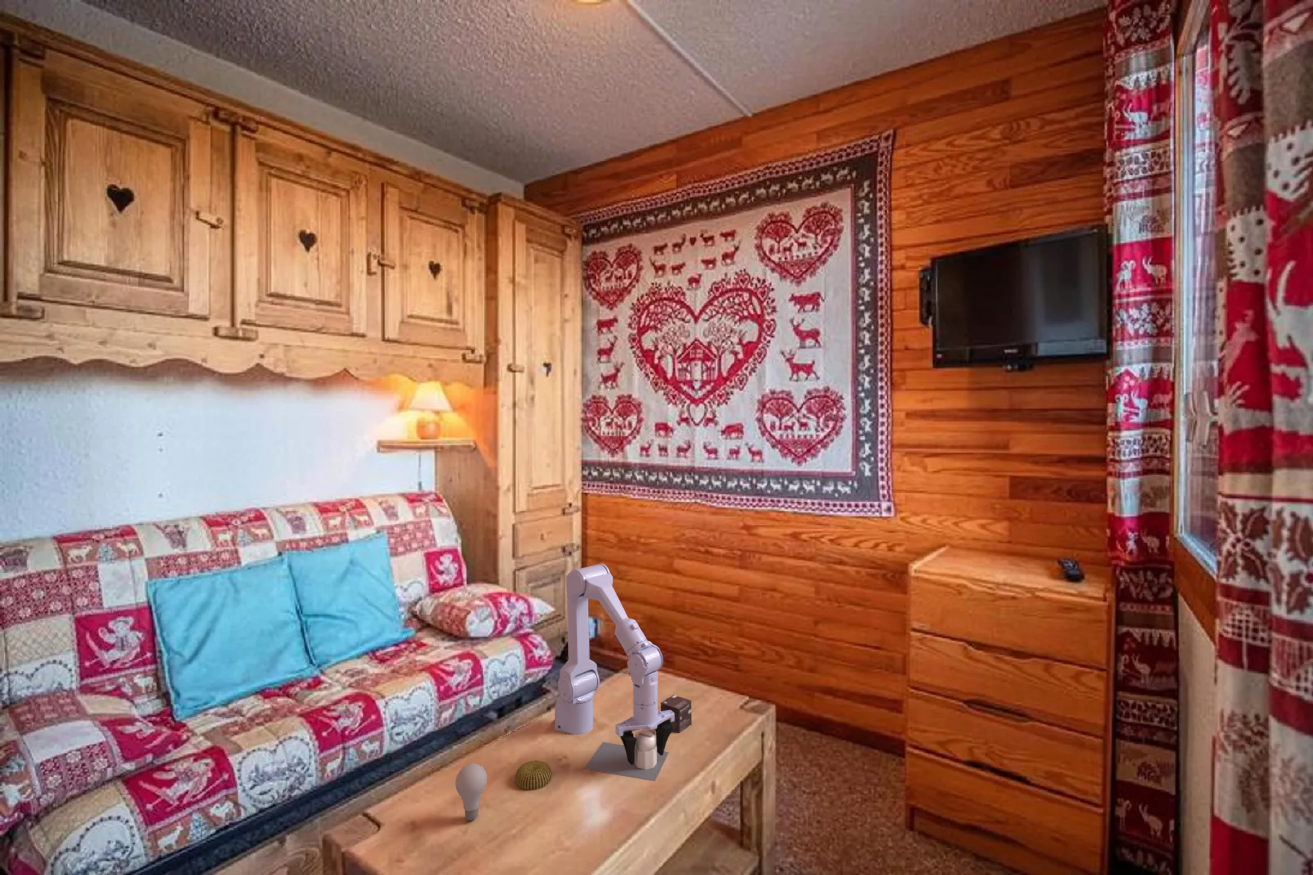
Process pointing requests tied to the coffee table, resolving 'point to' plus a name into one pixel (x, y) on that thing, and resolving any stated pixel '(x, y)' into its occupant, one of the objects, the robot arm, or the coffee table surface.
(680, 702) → the box
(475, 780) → the lightbulb
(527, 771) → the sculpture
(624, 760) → the board
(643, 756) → the knob
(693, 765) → the coffee table surface
